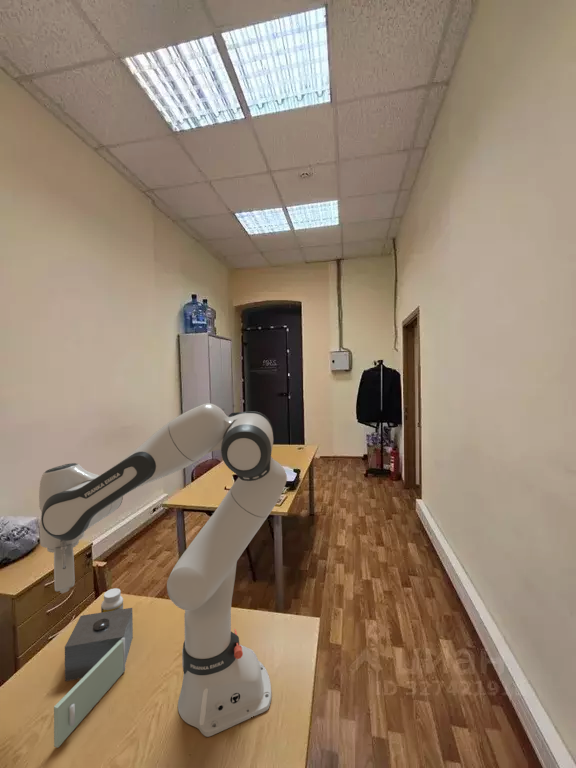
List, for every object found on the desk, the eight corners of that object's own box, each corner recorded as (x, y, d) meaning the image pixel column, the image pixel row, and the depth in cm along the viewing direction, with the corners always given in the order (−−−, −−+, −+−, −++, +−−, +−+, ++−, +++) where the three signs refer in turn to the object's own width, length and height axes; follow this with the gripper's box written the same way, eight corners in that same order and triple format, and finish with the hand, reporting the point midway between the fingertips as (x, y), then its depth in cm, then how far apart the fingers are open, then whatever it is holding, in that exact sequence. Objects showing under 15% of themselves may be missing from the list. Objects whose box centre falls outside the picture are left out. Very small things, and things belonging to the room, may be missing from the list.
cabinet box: (132, 637, 103) (132, 605, 102) (123, 669, 91) (123, 634, 91) (81, 646, 99) (80, 613, 99) (65, 681, 88) (64, 644, 87)
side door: (122, 668, 91) (122, 637, 91) (129, 670, 90) (128, 638, 90) (54, 746, 71) (53, 706, 71) (61, 749, 71) (61, 709, 71)
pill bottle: (96, 630, 105) (96, 595, 105) (115, 617, 111) (114, 584, 111) (109, 637, 103) (109, 601, 102) (127, 624, 108) (127, 590, 108)
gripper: (81, 545, 74) (82, 607, 74) (76, 515, 91) (77, 566, 91) (45, 554, 71) (47, 619, 71) (47, 521, 88) (49, 574, 88)
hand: (64, 589), depth 81 cm, fingers closed
